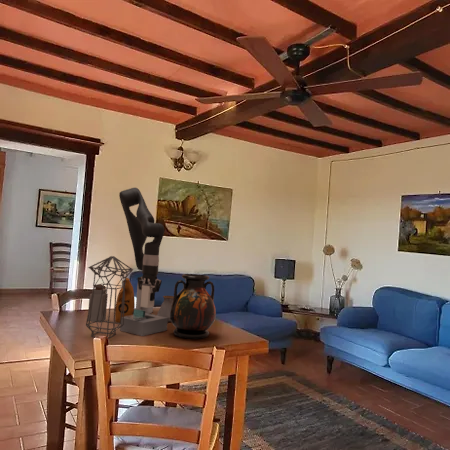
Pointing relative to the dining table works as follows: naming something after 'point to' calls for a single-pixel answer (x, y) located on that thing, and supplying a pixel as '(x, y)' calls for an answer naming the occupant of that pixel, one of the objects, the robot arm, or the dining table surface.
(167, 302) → the coffee pot
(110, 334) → the geometric lantern
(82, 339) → the dining table surface
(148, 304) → the plug
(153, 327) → the socket
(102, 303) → the perfume bottle
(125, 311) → the coffee package
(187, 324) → the amphora vase
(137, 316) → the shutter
